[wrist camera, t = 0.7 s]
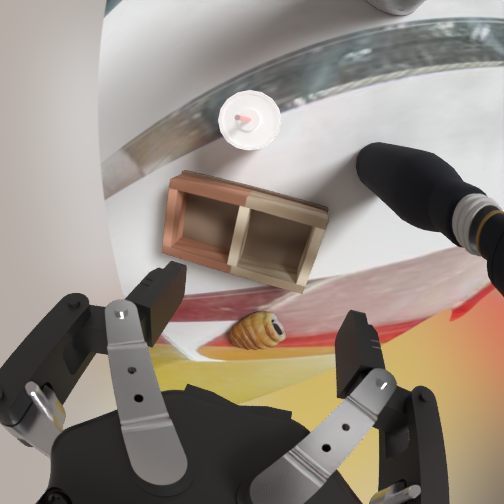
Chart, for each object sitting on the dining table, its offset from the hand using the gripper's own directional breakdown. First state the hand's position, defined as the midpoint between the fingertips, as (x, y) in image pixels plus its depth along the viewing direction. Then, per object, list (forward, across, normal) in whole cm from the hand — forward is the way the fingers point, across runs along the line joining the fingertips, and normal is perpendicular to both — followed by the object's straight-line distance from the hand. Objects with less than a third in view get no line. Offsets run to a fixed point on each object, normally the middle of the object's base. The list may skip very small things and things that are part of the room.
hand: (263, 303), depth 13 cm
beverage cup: (+26, +6, -7) cm, 27 cm away
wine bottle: (+26, -10, -6) cm, 28 cm away
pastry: (+25, -1, +24) cm, 35 cm away
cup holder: (+25, +5, +7) cm, 26 cm away
